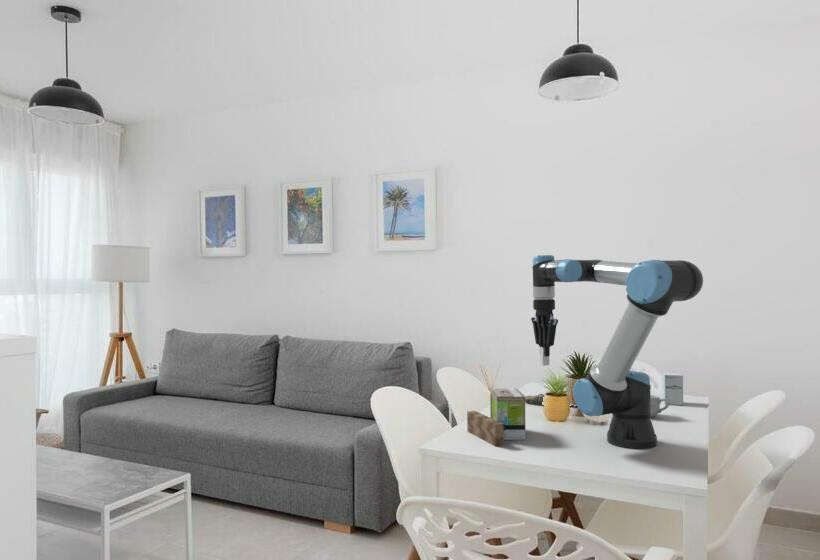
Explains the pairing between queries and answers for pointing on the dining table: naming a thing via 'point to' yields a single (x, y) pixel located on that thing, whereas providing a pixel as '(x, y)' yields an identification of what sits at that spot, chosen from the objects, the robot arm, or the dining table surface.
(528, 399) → the elongated rock
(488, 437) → the walnut board
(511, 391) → the tea box
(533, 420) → the dining table surface
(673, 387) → the supplement box
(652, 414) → the teacup
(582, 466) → the dining table surface
